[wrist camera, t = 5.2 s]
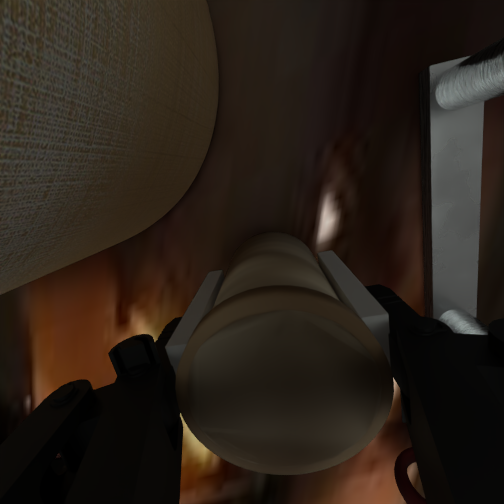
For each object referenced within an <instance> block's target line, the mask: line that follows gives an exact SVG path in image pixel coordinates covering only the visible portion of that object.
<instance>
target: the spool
mask: <svg viewBox="0 0 504 504" xmlns="http://www.w3.org/2000/svg"><path fill="white" fill-rule="evenodd" d="M175 390H176V399H177V403H178V406H179V410H180V412H181V414H182V417H183V419H184V421H185V423H186V424H187V426H188V428H189V429H190V431H191V432H192V433H193V434H194V435H195V437H196V438H197V439H198V440H199V441H200V442H201V443H202V444H203V445H204V446H205V447H206V448H208V449H209V450H210V451H212V452H213V453H214V454H216V455H217V456H219V457H221V458H222V459H224V460H226V461H228V462H230V463H232V464H235V465H237V466H240V467H242V468H245V469H248V470H252V471H256V472H260V473H267V474H276V475H296V474H305V473H312V472H316V471H320V470H324V469H327V468H329V467H332V466H335V465H337V464H339V463H341V462H343V461H346V460H347V459H349V458H351V457H352V456H354V455H355V454H357V453H358V452H360V451H361V450H362V449H363V448H365V447H366V446H367V445H368V444H369V443H370V442H371V441H372V440H373V439H374V438H375V437H376V435H377V434H378V432H379V431H380V430H381V428H382V427H383V425H384V423H385V421H386V419H387V417H388V415H389V412H390V409H391V406H392V400H393V395H394V382H393V376H392V370H391V367H390V364H389V361H388V358H387V356H386V355H385V353H384V351H383V349H382V347H381V346H380V344H379V343H378V341H377V340H376V338H375V337H374V335H373V334H372V332H371V331H370V329H369V328H368V327H367V325H366V324H365V323H364V321H363V320H362V319H361V318H360V317H359V316H358V315H357V314H356V313H355V312H354V311H353V310H352V309H351V308H349V307H348V306H347V305H345V304H344V303H343V302H341V301H340V300H339V298H338V297H337V295H336V293H335V292H334V290H333V288H332V287H331V285H330V283H329V282H328V280H327V278H326V276H325V275H324V273H323V271H322V270H321V268H320V266H319V265H318V263H317V261H316V260H315V258H314V256H313V254H312V253H311V251H310V250H309V248H308V247H307V246H306V245H305V244H304V243H303V242H301V241H300V240H299V239H297V238H295V237H294V236H291V235H289V234H285V233H280V232H266V233H262V234H258V235H256V236H253V237H251V238H250V239H248V240H247V241H245V242H244V243H243V244H242V245H241V246H240V247H239V248H238V249H237V251H236V252H235V254H234V256H233V258H232V260H231V263H230V266H229V268H228V271H227V273H226V276H225V278H224V281H223V283H222V286H221V288H220V291H219V294H218V296H217V299H216V301H215V304H214V306H213V309H212V310H210V311H209V312H208V313H207V314H206V315H205V316H204V317H203V318H202V320H201V321H200V322H199V323H198V325H197V326H196V328H195V329H194V331H193V333H192V335H191V337H190V339H189V341H188V343H187V345H186V347H185V350H184V352H183V354H182V357H181V359H180V362H179V364H178V368H177V373H176V383H175Z"/></svg>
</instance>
